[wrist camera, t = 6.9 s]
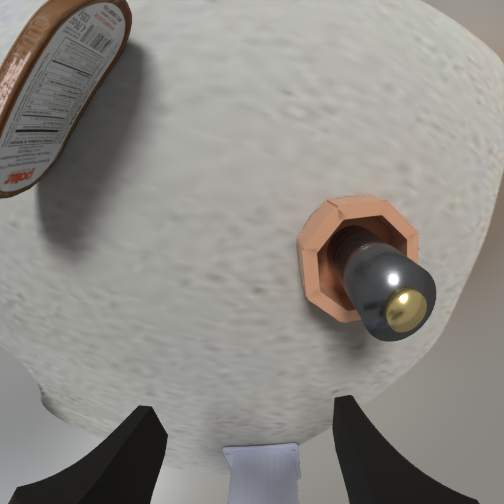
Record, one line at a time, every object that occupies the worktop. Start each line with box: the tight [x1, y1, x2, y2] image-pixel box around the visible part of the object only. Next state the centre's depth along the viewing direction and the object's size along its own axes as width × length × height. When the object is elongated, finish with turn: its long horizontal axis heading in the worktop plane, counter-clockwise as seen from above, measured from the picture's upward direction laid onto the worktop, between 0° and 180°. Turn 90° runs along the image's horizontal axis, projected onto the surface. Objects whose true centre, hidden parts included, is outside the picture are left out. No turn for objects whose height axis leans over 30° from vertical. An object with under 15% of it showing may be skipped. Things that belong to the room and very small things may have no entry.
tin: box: [0, 0, 132, 198], centre depth 11 cm, size 15×3×8 cm, turn 142°
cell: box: [327, 225, 436, 342], centre depth 13 cm, size 4×4×8 cm
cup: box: [297, 195, 418, 323], centre depth 16 cm, size 7×7×3 cm
